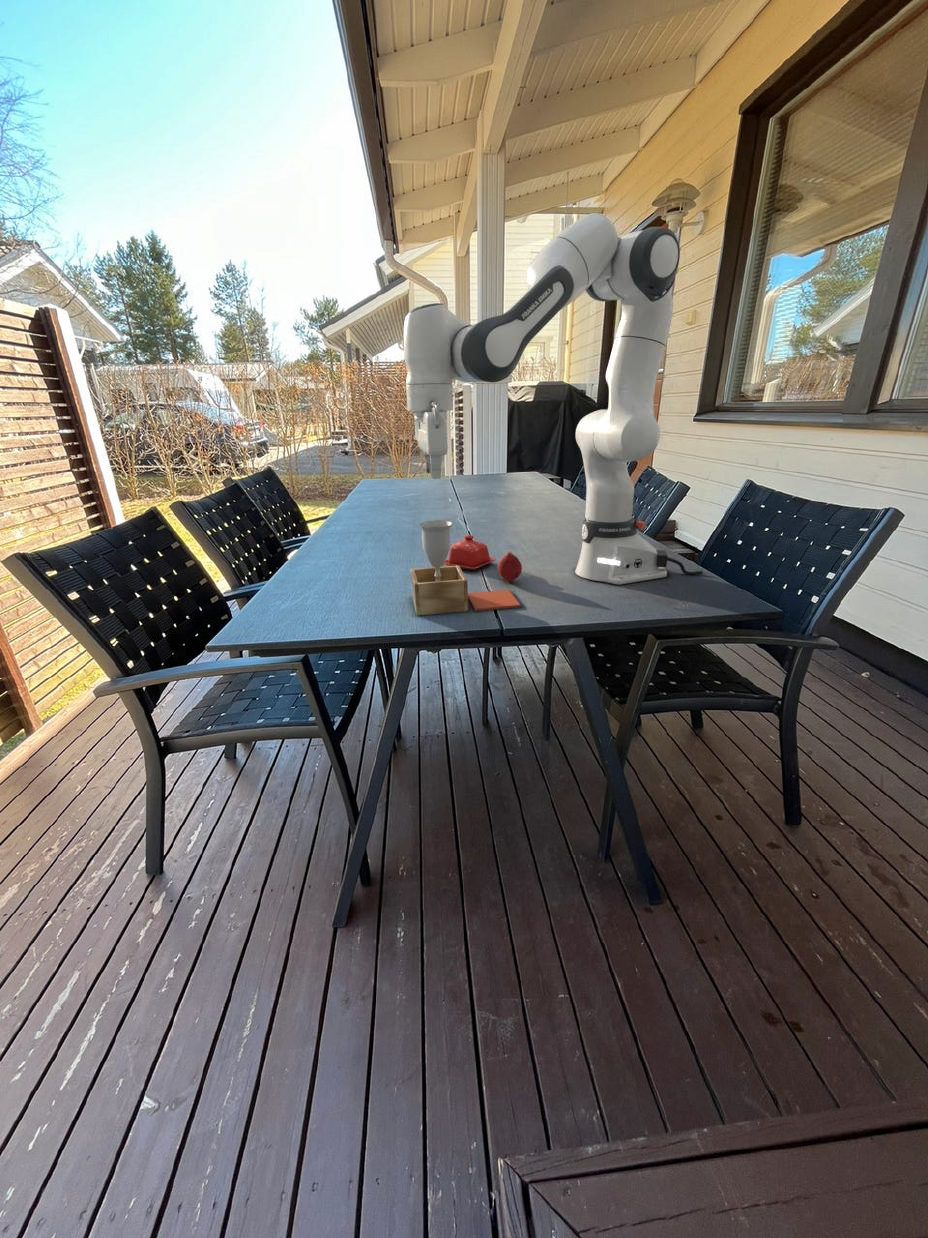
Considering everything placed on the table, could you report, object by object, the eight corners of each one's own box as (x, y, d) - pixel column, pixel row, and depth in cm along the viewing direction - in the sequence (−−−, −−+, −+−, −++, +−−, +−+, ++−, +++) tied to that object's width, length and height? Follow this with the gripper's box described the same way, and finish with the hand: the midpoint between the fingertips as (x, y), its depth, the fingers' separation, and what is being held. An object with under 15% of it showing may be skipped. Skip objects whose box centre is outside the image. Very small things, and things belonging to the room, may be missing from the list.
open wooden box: (459, 594, 123) (458, 565, 120) (468, 611, 112) (467, 580, 110) (412, 598, 121) (410, 568, 118) (416, 615, 111) (414, 584, 108)
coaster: (508, 592, 123) (508, 589, 123) (520, 607, 114) (520, 604, 113) (467, 595, 121) (466, 593, 121) (475, 611, 112) (475, 608, 112)
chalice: (450, 611, 113) (447, 528, 106) (420, 609, 114) (415, 527, 107) (457, 599, 119) (455, 520, 112) (428, 598, 121) (424, 520, 114)
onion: (526, 581, 130) (526, 550, 127) (511, 587, 126) (512, 555, 123) (507, 577, 133) (508, 546, 130) (493, 583, 129) (493, 551, 126)
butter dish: (464, 557, 151) (463, 528, 148) (498, 563, 145) (498, 532, 142) (440, 567, 143) (438, 536, 140) (474, 574, 137) (474, 542, 133)
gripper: (454, 400, 92) (456, 481, 97) (439, 401, 110) (441, 469, 116) (418, 401, 91) (422, 482, 96) (409, 402, 109) (413, 470, 115)
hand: (433, 475), depth 106 cm, fingers open, 8 cm apart
